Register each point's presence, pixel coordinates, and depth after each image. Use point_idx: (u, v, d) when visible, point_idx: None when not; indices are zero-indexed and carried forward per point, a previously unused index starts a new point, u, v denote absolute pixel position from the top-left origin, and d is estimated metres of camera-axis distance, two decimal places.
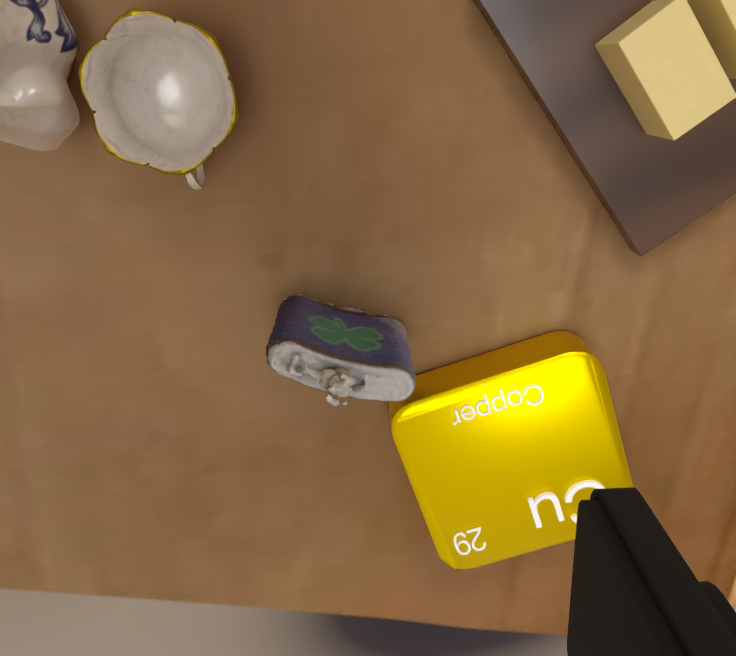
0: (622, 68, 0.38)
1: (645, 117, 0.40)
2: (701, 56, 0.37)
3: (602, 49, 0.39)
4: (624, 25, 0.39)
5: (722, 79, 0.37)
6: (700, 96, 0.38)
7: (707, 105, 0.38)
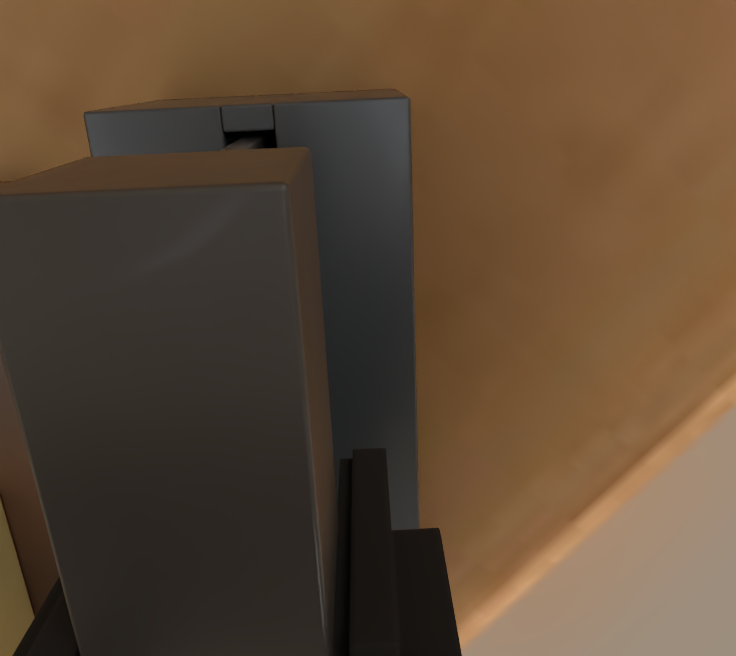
0: None
1: None
2: None
3: None
4: None
5: None
6: None
7: None
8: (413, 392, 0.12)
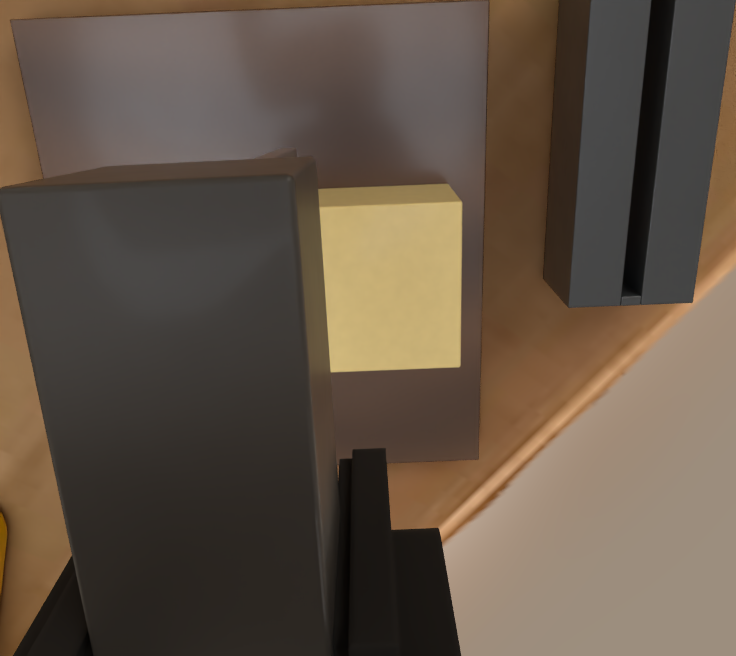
0: None
1: None
2: None
3: None
4: None
5: None
6: None
7: None
8: (721, 91, 0.24)
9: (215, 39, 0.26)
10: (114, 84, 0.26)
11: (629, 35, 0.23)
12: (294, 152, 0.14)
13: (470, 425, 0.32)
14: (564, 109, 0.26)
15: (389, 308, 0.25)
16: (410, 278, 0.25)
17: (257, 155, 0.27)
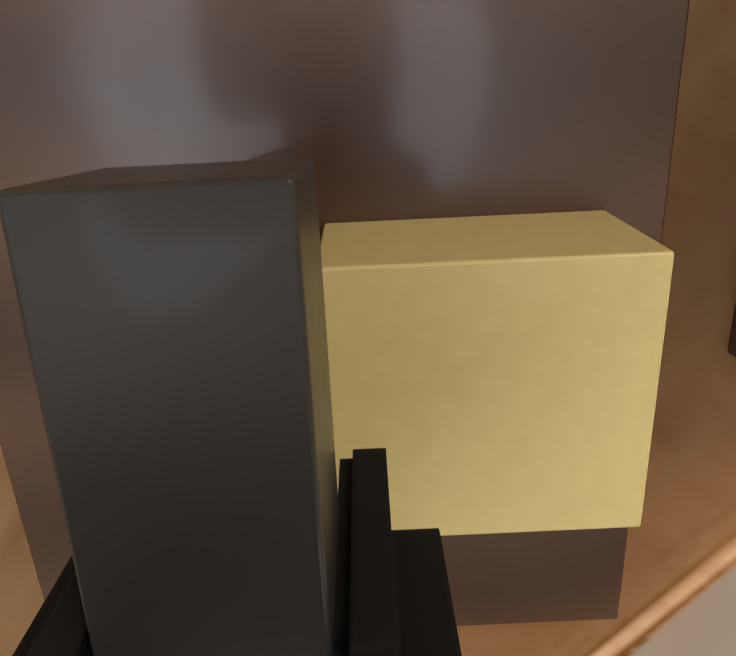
0: None
1: None
2: None
3: None
4: None
5: None
6: None
7: None
8: None
9: None
10: (44, 45, 0.15)
11: None
12: (290, 153, 0.14)
13: (609, 572, 0.21)
14: None
15: (526, 434, 0.14)
16: (569, 384, 0.14)
17: None
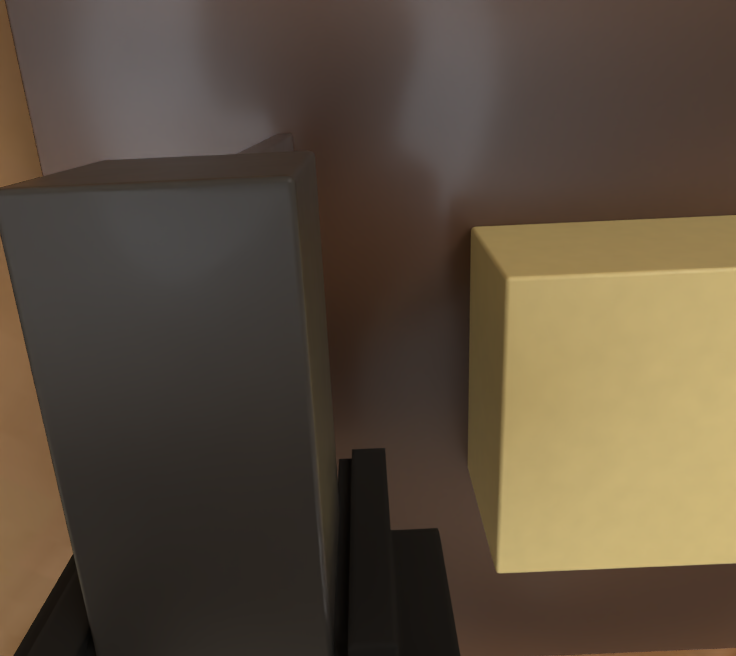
0: None
1: None
2: None
3: None
4: None
5: None
6: None
7: None
8: None
9: None
10: (182, 31, 0.14)
11: None
12: (290, 139, 0.14)
13: None
14: None
15: (718, 459, 0.13)
16: None
17: (438, 164, 0.15)
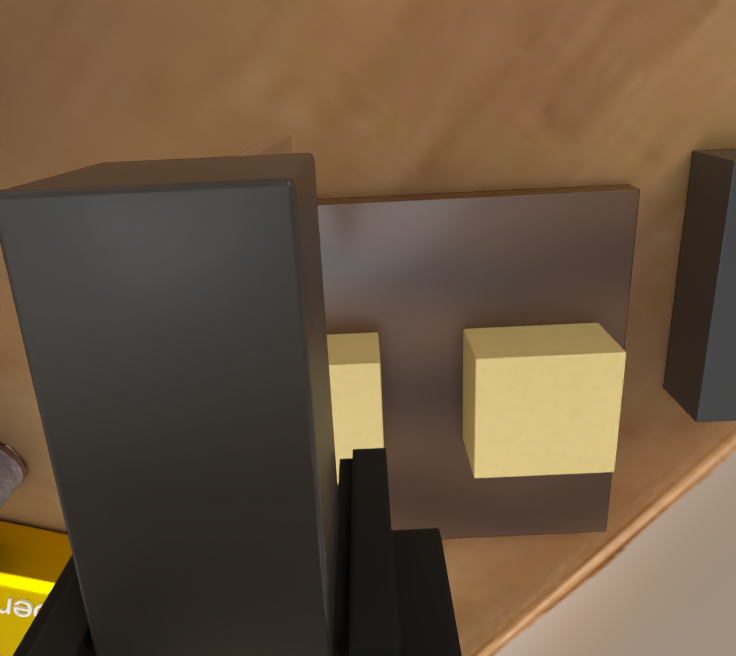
0: None
1: None
2: (368, 427, 0.32)
3: None
4: (332, 341, 0.34)
5: None
6: None
7: None
8: None
9: (424, 219, 0.33)
10: (342, 252, 0.33)
11: None
12: (289, 140, 0.14)
13: (601, 505, 0.39)
14: (694, 268, 0.34)
15: (562, 429, 0.33)
16: (581, 407, 0.32)
17: (449, 303, 0.34)
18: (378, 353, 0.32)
